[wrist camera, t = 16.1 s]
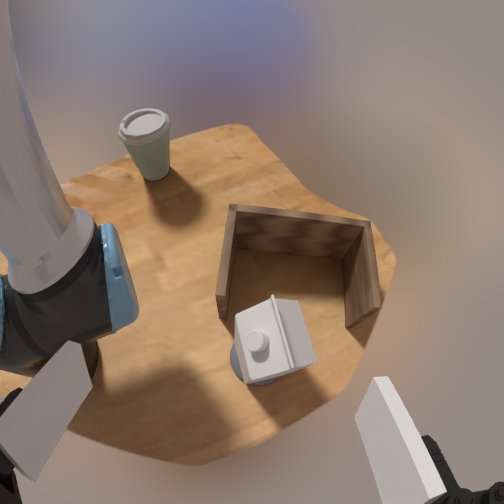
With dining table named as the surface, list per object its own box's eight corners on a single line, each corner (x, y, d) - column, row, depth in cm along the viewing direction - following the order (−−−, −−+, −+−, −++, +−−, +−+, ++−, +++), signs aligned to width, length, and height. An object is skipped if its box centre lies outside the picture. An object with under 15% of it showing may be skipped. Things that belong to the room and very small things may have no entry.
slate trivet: (227, 382, 39) (227, 382, 39) (233, 327, 43) (233, 326, 43) (286, 386, 39) (286, 386, 39) (289, 332, 44) (289, 331, 43)
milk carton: (278, 331, 43) (307, 286, 26) (289, 373, 40) (330, 356, 23) (233, 341, 42) (234, 302, 25) (244, 384, 39) (253, 378, 22)
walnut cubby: (219, 318, 44) (215, 294, 34) (229, 241, 51) (229, 203, 41) (351, 327, 44) (381, 307, 35) (347, 254, 51) (370, 221, 42)
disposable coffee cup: (181, 155, 62) (174, 102, 49) (174, 189, 56) (162, 133, 43) (139, 157, 61) (126, 107, 48) (128, 190, 56) (109, 138, 43)
